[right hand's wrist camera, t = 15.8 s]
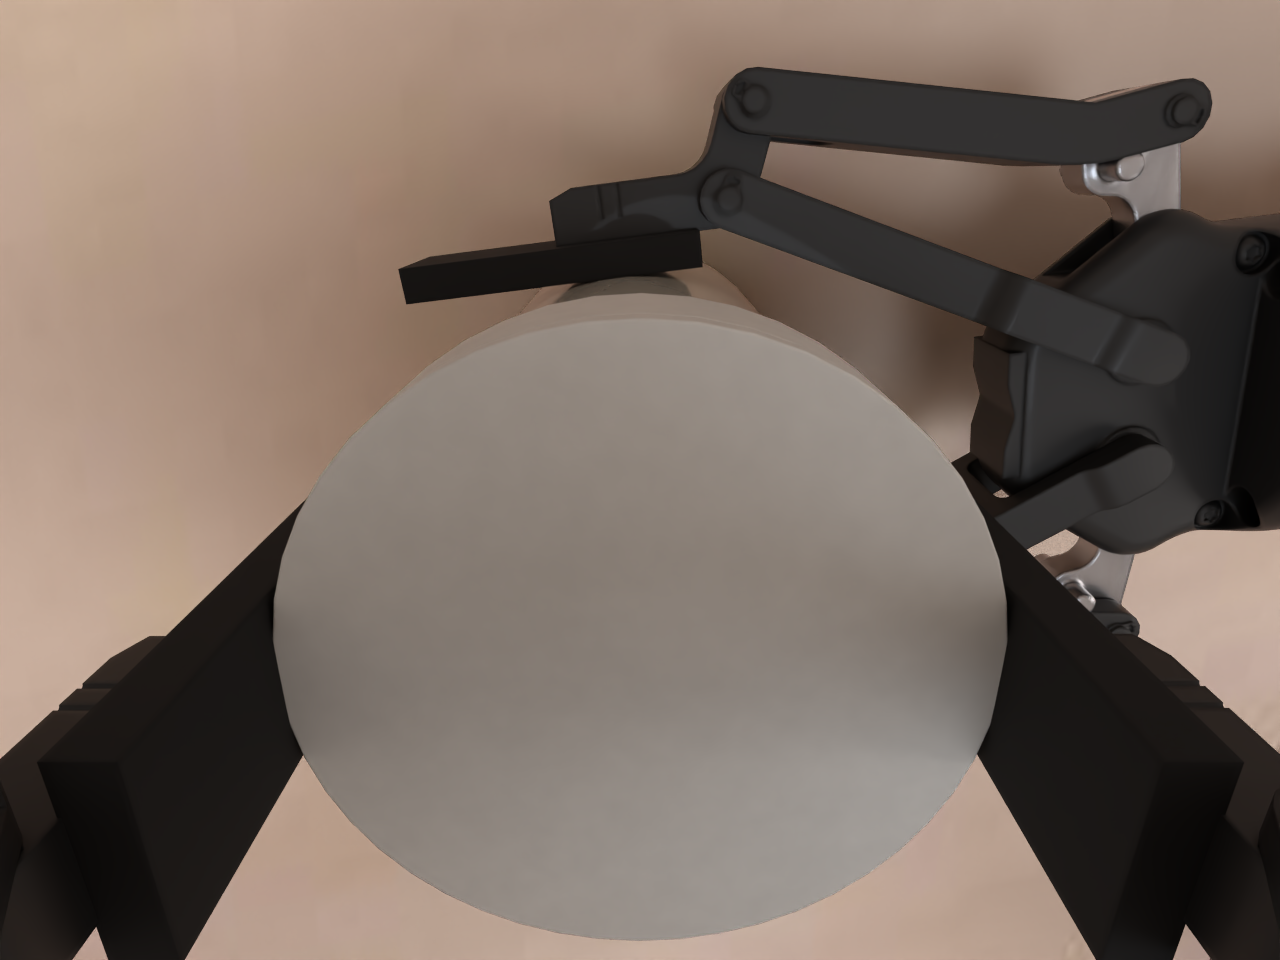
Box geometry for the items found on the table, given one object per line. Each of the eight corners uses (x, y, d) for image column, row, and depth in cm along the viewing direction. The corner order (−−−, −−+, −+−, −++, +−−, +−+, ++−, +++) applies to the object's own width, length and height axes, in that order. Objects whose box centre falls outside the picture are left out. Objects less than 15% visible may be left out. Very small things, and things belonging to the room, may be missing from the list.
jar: (580, 546, 27) (518, 940, 13) (455, 321, 24) (206, 521, 10) (813, 446, 26) (1017, 767, 12) (709, 195, 23) (819, 230, 9)
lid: (981, 779, 14) (1035, 875, 12) (454, 884, 15) (426, 990, 13) (908, 207, 10) (968, 214, 8) (218, 393, 11) (133, 438, 9)
